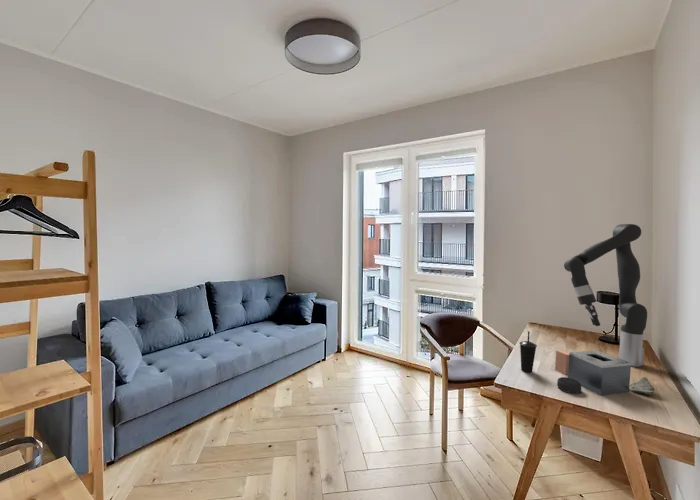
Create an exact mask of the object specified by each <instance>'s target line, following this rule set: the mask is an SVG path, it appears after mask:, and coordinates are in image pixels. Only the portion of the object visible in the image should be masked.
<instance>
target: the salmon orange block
mask: <svg viewBox="0 0 700 500" xmlns="http://www.w3.org/2000/svg"><path fill="white" fill-rule="evenodd" d="M569 353H570V352H568V351H565V350H563V349H560V350H558V349H557V350H556V351H555V363H554V365H555V367H554V371H556V372H559V373H561V374H562V375H565V376H568V369H569Z"/></svg>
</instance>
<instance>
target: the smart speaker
mask: <svg viewBox="0 0 700 500" xmlns="http://www.w3.org/2000/svg"><path fill="white" fill-rule="evenodd" d="M556 383H557V384H556V385H557V388H558V389H560V390H561V391H563V392H565V393H570V394H579V393H582V386H581V383H580V382H578V381H577V380H574V379H571V378H568V376H567V377H565V376H564V377H562V376H561V377H559V378H558V379H557V381H556Z"/></svg>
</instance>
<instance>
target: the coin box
mask: <svg viewBox="0 0 700 500" xmlns="http://www.w3.org/2000/svg"><path fill="white" fill-rule="evenodd" d="M568 353H569V369H568V375H567V378H571V379H574V380H577V381H578V382H580V383H581V387H583V388H584V389H587V390H589V391H591V392H593V393H595V394H597V395H599V396H606V395H617V394H622V393H623V394H624V393H630V390H629V385H631V384H630V381H631V370H632V369H631V368H632V366H631V363H630V362H627V361H625V360H622V359H619V357H616V356H613V355H610V354H608V353H605V352H602V351H599V350H597V349H593V350H583V351H580V350H579V351H570V352H568Z"/></svg>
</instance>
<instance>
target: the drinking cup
mask: <svg viewBox="0 0 700 500" xmlns="http://www.w3.org/2000/svg"><path fill="white" fill-rule="evenodd" d="M537 347H538V345H537V344H536V343H534V342H532V341H530V331H527V340H523V341H520V342H519V349H520V351H519V352H520V370H521V371H522V372H523V373H526V374H527V373H528V374H531V373H533V369H534V363H535V358H536V357H535V355H536V350H537Z"/></svg>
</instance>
